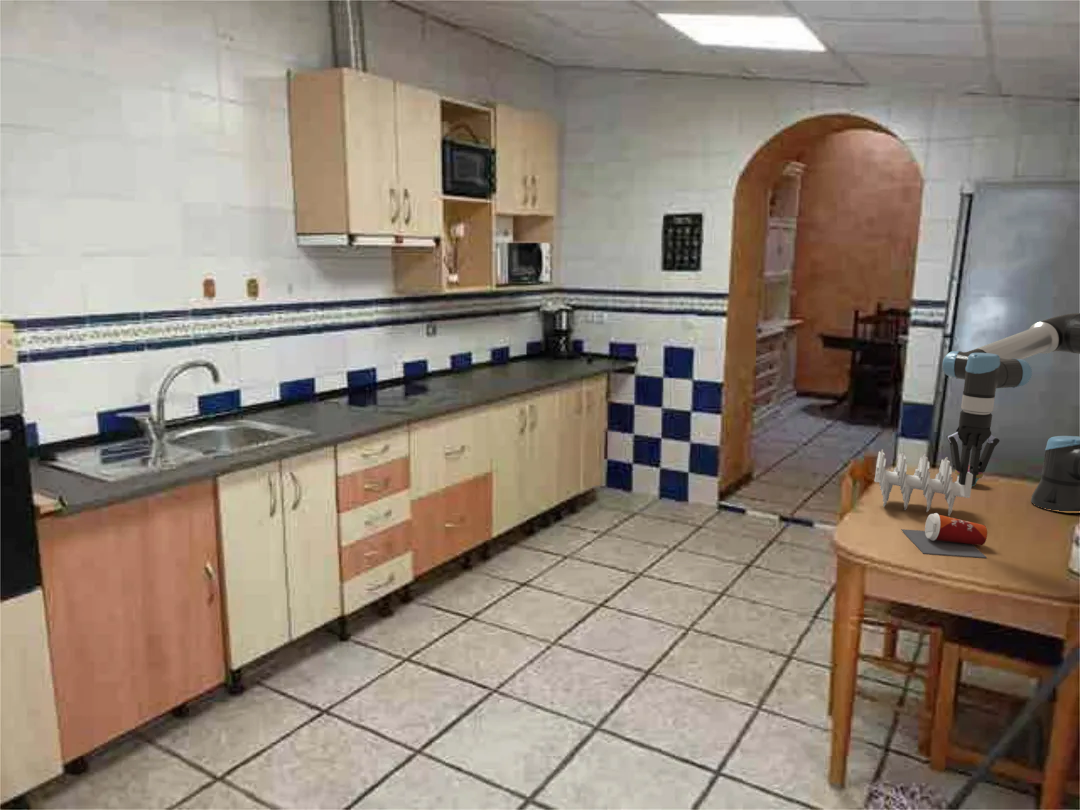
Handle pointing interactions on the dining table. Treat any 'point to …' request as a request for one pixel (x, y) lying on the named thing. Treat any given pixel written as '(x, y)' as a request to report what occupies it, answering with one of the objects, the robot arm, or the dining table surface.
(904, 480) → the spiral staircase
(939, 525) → the paper cup
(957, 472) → the cupcake
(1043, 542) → the dining table surface
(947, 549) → the mat
